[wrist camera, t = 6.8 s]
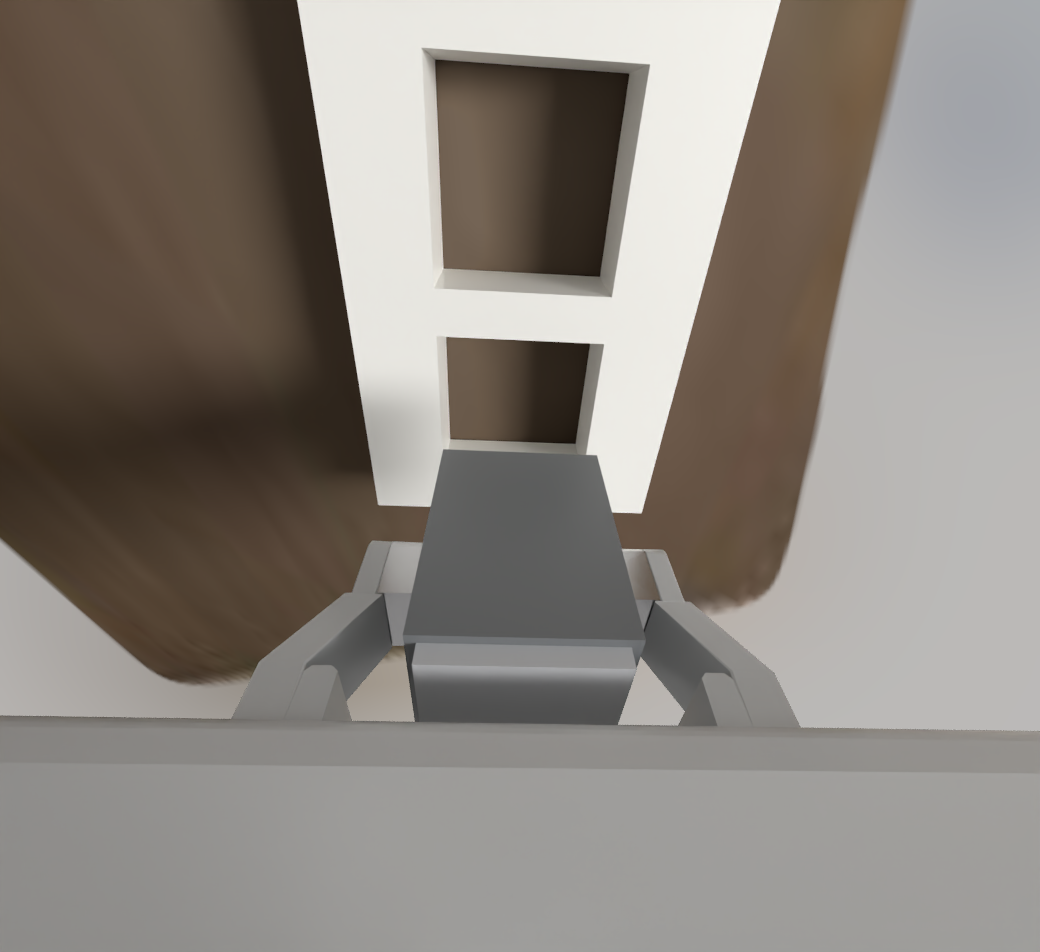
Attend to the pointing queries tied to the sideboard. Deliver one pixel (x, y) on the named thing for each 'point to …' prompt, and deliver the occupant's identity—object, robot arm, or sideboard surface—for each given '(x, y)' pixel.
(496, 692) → the plug
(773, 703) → the robot arm
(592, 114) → the sideboard surface
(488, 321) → the outlet plate
